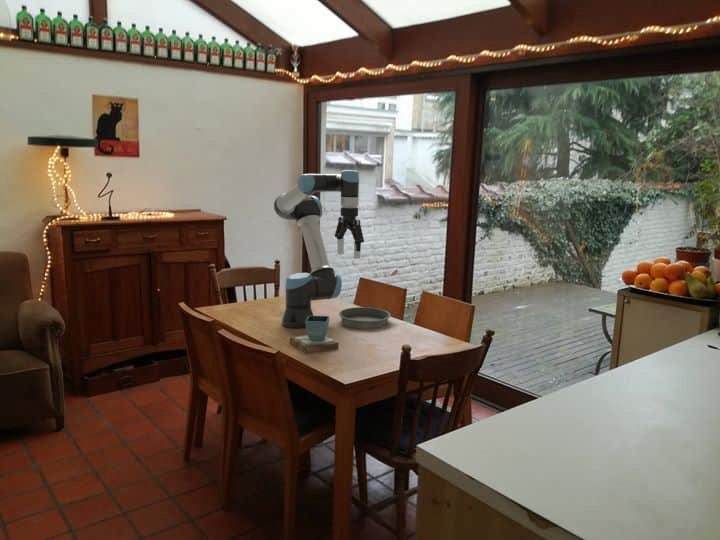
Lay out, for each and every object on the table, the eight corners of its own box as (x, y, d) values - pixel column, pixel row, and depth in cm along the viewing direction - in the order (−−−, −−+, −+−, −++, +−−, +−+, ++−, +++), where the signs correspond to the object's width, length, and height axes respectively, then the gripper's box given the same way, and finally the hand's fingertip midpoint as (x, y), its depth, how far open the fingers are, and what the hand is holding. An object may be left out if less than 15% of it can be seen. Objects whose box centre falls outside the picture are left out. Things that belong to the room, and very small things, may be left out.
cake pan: (345, 331, 266) (345, 321, 266) (333, 317, 290) (333, 308, 289) (397, 328, 273) (397, 319, 272) (381, 314, 296) (381, 305, 295)
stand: (290, 343, 247) (290, 336, 247) (319, 338, 255) (319, 331, 254) (307, 353, 234) (307, 346, 234) (338, 348, 242) (338, 341, 241)
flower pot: (304, 342, 239) (304, 320, 237) (308, 336, 248) (308, 315, 246) (326, 343, 238) (326, 321, 237) (329, 336, 247) (329, 316, 245)
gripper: (327, 204, 260) (326, 252, 264) (357, 209, 240) (356, 261, 244) (341, 204, 264) (341, 251, 268) (373, 209, 244) (371, 260, 248)
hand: (348, 256), depth 256 cm, fingers open, 13 cm apart
